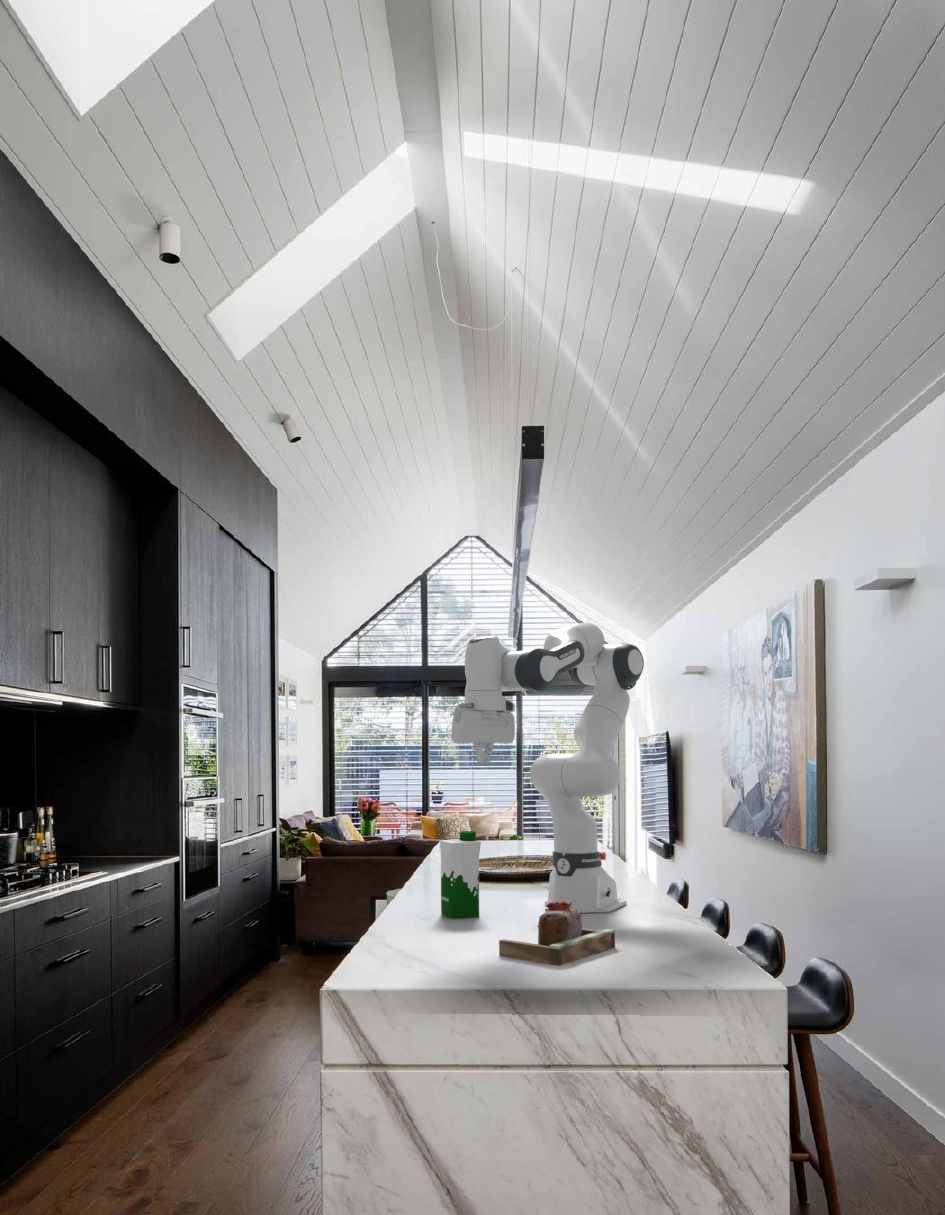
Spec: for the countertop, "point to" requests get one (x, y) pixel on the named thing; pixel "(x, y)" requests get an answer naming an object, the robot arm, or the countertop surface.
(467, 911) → the milk carton
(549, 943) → the food item
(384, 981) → the countertop surface
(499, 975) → the countertop surface
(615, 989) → the countertop surface
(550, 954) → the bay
